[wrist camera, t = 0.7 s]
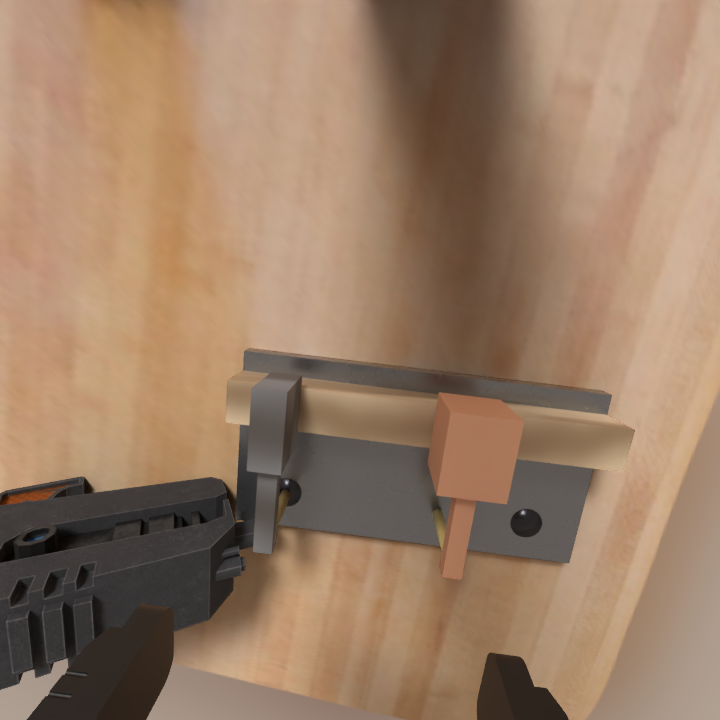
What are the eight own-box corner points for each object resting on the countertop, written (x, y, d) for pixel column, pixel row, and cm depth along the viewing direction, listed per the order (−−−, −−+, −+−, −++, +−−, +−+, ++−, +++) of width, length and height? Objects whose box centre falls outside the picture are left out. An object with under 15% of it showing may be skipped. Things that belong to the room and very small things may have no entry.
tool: (-14, 468, 29) (-163, 635, 16) (244, 440, 37) (286, 532, 24) (-6, 538, 30) (-138, 748, 17) (242, 495, 39) (281, 610, 26)
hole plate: (249, 348, 29) (243, 351, 27) (602, 390, 28) (612, 395, 27) (240, 510, 31) (234, 519, 30) (561, 552, 31) (569, 563, 30)
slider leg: (432, 381, 27) (450, 412, 20) (487, 387, 27) (524, 421, 20) (411, 516, 29) (421, 585, 22) (462, 522, 29) (487, 594, 22)
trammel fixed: (244, 357, 28) (198, 381, 21) (610, 401, 27) (692, 442, 20) (236, 491, 30) (193, 554, 23) (576, 535, 29) (639, 614, 22)
